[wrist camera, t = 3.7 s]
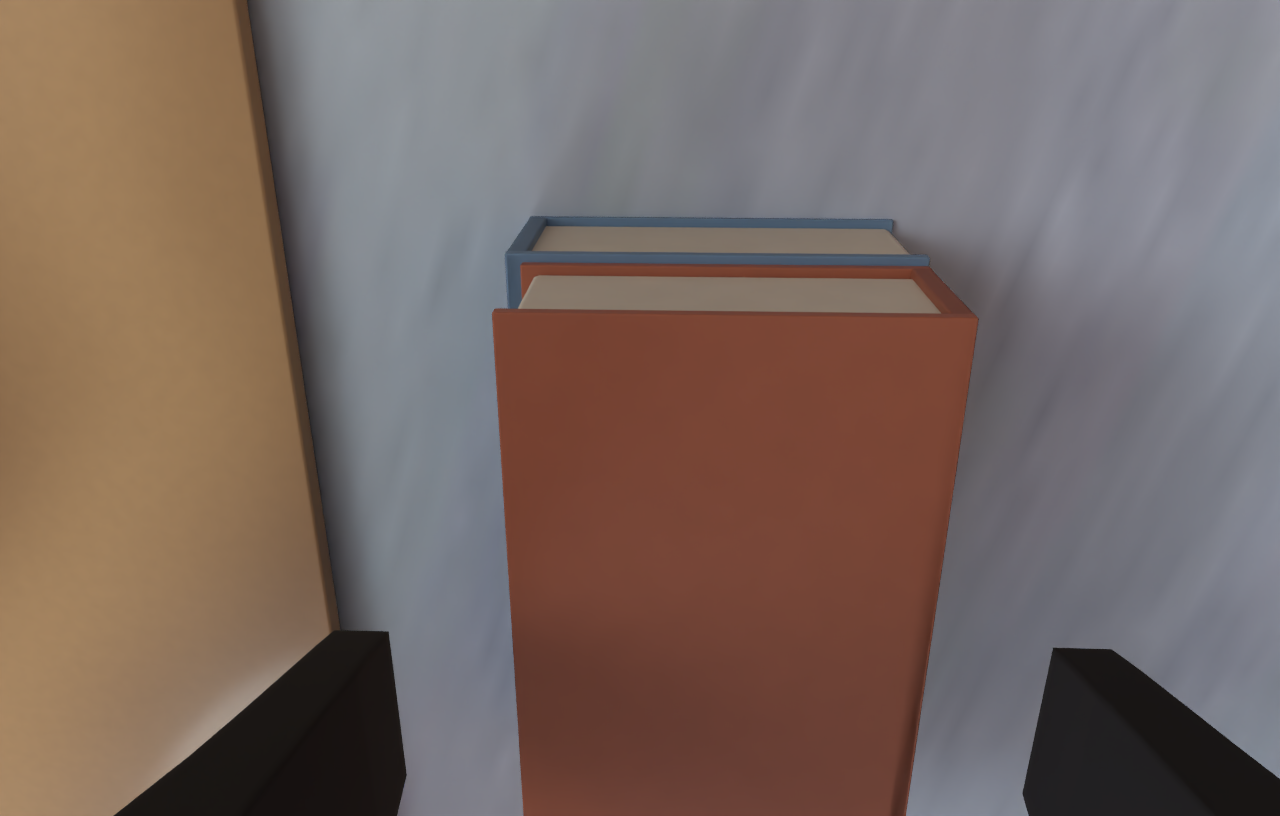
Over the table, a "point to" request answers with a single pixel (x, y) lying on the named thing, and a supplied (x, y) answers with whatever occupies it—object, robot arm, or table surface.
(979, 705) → the table surface
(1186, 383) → the table surface
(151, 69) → the cork mat
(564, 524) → the book stack
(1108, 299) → the table surface
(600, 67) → the table surface
